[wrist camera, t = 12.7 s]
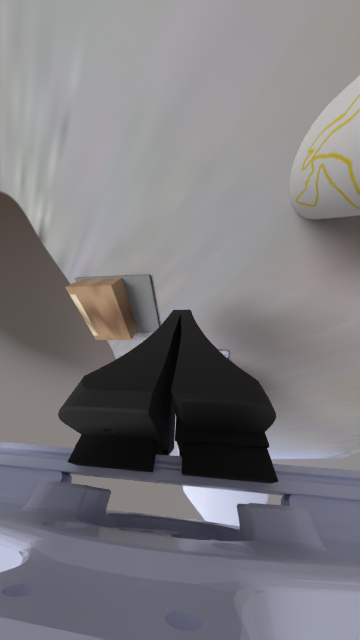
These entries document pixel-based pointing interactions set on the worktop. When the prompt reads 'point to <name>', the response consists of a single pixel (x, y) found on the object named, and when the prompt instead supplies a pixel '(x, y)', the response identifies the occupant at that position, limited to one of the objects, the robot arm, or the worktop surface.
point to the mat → (138, 300)
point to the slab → (104, 308)
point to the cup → (330, 161)
